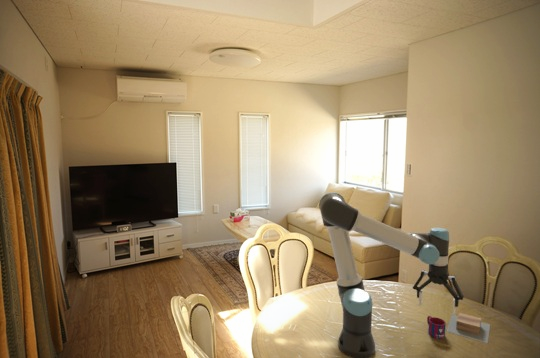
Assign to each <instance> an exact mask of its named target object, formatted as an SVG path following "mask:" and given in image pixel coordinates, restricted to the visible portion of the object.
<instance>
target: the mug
mask: <svg viewBox="0 0 540 358" xmlns="http://www.w3.org/2000/svg"><path fill="white" fill-rule="evenodd" d="M426 322H427V325H428V329H427V330H428V335H429V336H430V337H432V338H433V339H437V340H443V339H445V337H446V328H447V326H446V325H447V324H446V323H447V322H446V320H444V319H442V318H439V317H435V316H433V317H432V316H431V315H427V318H426Z"/></svg>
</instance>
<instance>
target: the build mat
mask: <svg viewBox="0 0 540 358" xmlns="http://www.w3.org/2000/svg"><path fill="white" fill-rule="evenodd" d="M457 318H458V315H456V314H451V316H450V320H449V322H448V325H447V326H446V329H445V332H447V333H449V334H451V333H452V334H454V335H457V336H460V337H461V336H462V337H464V338H468V339H471V340H475V341H479V342H481V343H484V344H488V343H489V336H490V331H491V330H490V328H491V324H490V323H487V322H483V321H481V328H480V333H479V335H475V334H472V333H468V332H465V331H461V330H458V329H456V323H457Z"/></svg>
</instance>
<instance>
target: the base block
mask: <svg viewBox="0 0 540 358" xmlns="http://www.w3.org/2000/svg"><path fill="white" fill-rule="evenodd" d="M457 316H458V318H457V323H456V329H458V330H461V331H465V332H468V333H472V334H475V335H479V333H480V328H481V322H482V318H481V317H477V316H475V315H470V314H467V313H461V312H458V315H457Z"/></svg>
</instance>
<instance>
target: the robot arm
mask: <svg viewBox="0 0 540 358" xmlns="http://www.w3.org/2000/svg"><path fill="white" fill-rule="evenodd" d="M318 208H319V211H320V214H321V220H322V224H323V226H324V227H325V228H326V229H327V231H328V234H329V239H330V245H331V248H332V253H333V256H334V257H333V258H334V260H335V265H336V267H335V268H336V271H337V275H338V278H337V279H336V285H337V290H338V296H339V300H340V303H341V308H342V328H341V331H340V335H339V337H338V340H337V341H338V345H337V346H338V348H339V350H340V352H342V353H343V354H345V355H346V356H348V357H351V358H366V357H367V358H369V357H372V356H373V355H374V353H375V352H376V342H375V339H374V336H373V333H372V317H373V316H372V315H373V300H372V299H373V298H372V296H371V294H370V293H369V292H367V291H366V290H365V284H364V280H363V276H362V275H359V274H358V270H357V265H356V260H355V256H354V252H353V246H352V242H351V237H350V232H352V231H354V232H355V233H358V234H361V235H363V236H365V237H368V238H370V239H373V240H375V241H378V242H379V243H382V244H384V245H387V246H389V247H391V248H393V249H396V250H397V251H398V250H399V251H401V252H403V253H405V254H408V255H410V256H412V257H415V258H417V259H419V261H421V262H422V263H424V264H425V265H428V271H426V270H424V269H422V270H421V272H420V276H419V277H418V279H417V280H416V282H415V283H414V285H413V286H412V289H413V290H416V298H417V299H418V306H419V307H421V306H422V305H423V292H424V290H423V289H425V287H427V286H428V285H430V284H431V283H432V284H435V285H440V286H444V287H445V288H446V290H447V291H448V292H449V293H450V295H451V296H452V298H453V299H452V311H451V312H452V314H453V315H456V308H459V301H460V300H461V301H463V300H464V298H465V297H464V294H463V292H462V290H461V288H460V286H459V284H458V282H457V277H456V275H453V276H450V275H449V273H448V272H449V271H448V270H449V265H448V264H449V248H450V231H449V230H448V229H447V228H442V227H432V228H430V229H429V232H425V233H424V232H423V233H422V232H421V233H420V232H405V231H402V230H401V229H397V228H396V227H393V226H391V225H388V224H386V223H383V222H381V221H379V220H377V219H375V218H372V217H370V216H367V215H365V214H362V213H361V212H360V210H359V209H358V208H355V207H353V206H352V205H350V204H349V203H347V202H346V201H345V197H344V196H343V195H341V194H340V193H337V192H334V191H333V192H328V193H325V194H324V195H322V197H321V198H320V200H319V203H318ZM426 276H427V277H428V279H427V280H425V282H423V283H422V284H420V283H421V281H422V280H423V278H424V277H426ZM448 280H450V282H451V283H452V285H453V287H454V288H453V287H452V286H451V285H450V284H449V282H448ZM419 284H420V285H419ZM452 314H451V315H452ZM371 355H372V356H371Z"/></svg>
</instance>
